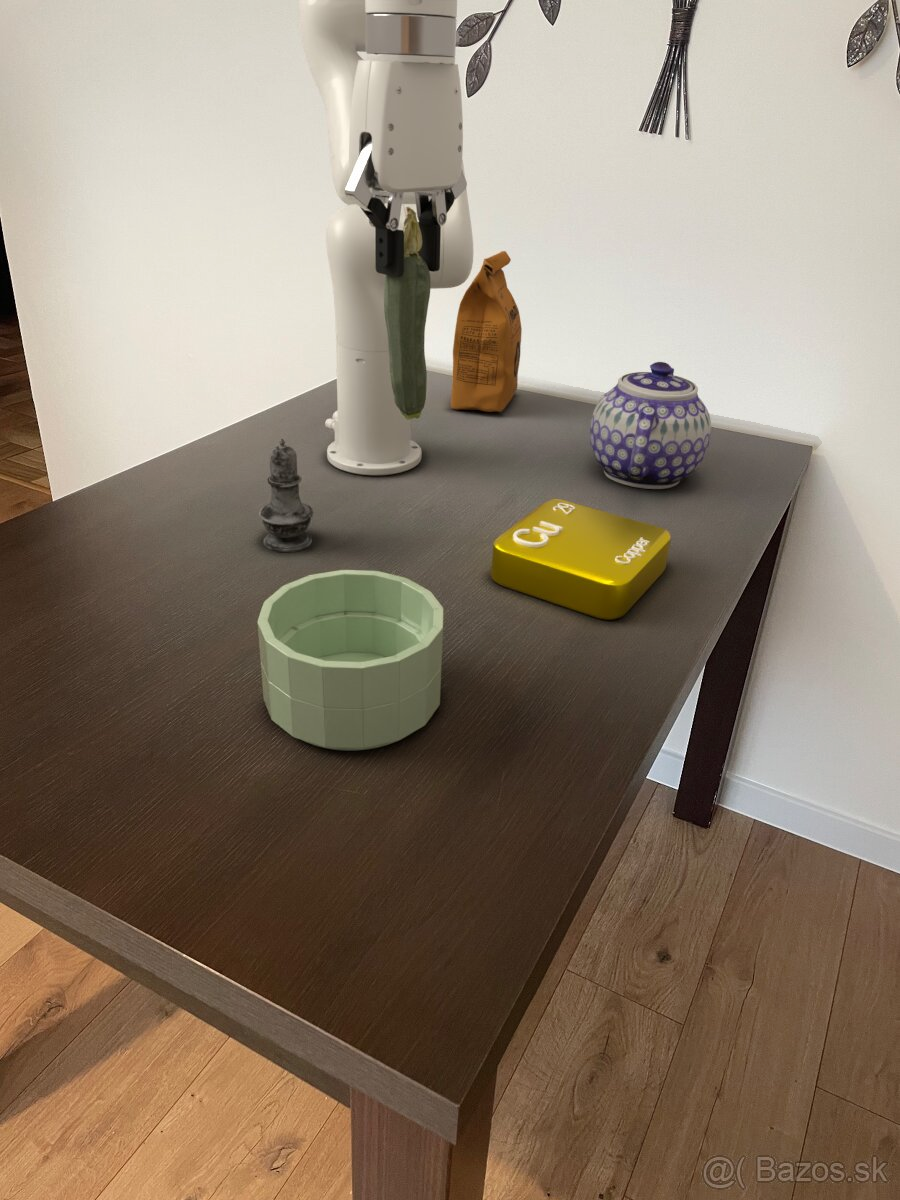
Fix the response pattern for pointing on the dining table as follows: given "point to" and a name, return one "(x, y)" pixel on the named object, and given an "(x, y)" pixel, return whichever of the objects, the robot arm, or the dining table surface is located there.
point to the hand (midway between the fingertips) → (407, 269)
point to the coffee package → (486, 341)
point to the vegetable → (408, 323)
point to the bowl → (351, 658)
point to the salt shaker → (285, 504)
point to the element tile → (581, 558)
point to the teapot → (650, 429)
